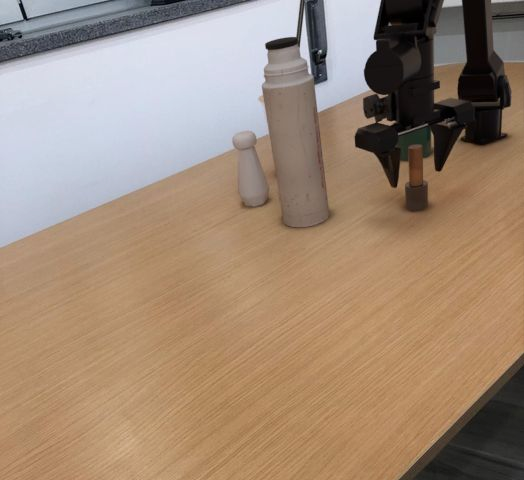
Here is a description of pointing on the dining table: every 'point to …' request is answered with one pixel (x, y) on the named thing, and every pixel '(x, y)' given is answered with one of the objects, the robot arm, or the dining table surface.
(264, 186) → the salt shaker
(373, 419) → the dining table surface
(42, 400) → the dining table surface
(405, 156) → the enamel cup
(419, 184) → the wooden peg on base
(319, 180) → the thermos bottle
